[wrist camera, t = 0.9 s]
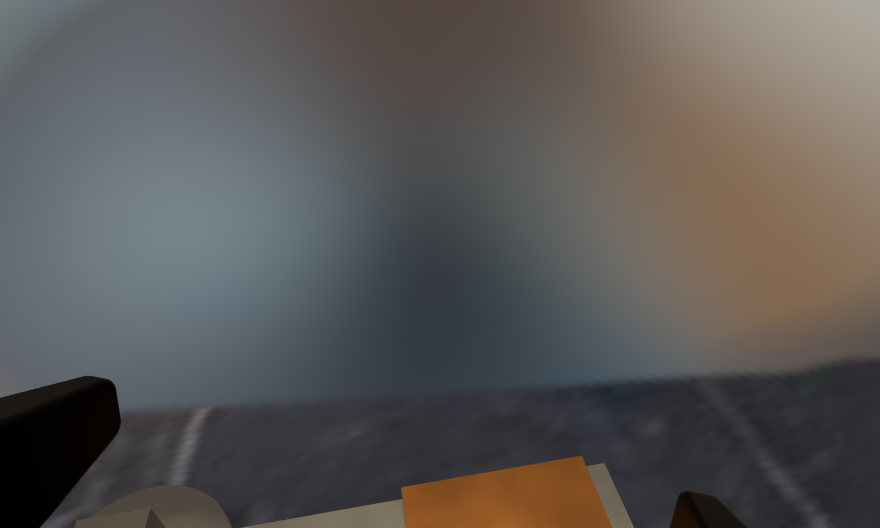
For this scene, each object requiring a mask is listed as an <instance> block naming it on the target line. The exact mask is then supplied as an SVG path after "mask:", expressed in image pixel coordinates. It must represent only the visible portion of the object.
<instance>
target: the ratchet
mask: <svg viewBox="0 0 880 528" xmlns="http://www.w3.org/2000/svg"><path fill="white" fill-rule="evenodd" d="M401 490H402V499H400V500H395V501H389V502H383V503H378V504H372V505H367V506H361V507H355V508H350V509H344V510H339V511H333V512H327V513H322V514H316V515H310V516H305V517H299V518H294V519H288V520H282V521H277V522H271V523H265V524H260V525H254V526H249V527H243V528H634V527H633V525H632V522H631V520H630V518H629V516H628V514H627V512H626V509H625V507H624V505H623V503H622V501H621V499H620V496H619V494H618V492H617V490H616V488H615V485H614V483H613V481H612V479H611V477H610V475H609V472H608V470H607V468H606V466H605V464H604V463H603V464H597V465H591V466H586V465H585V462H584V460H583V458H582V456H579V457H573V458H567V459H562V460H556V461H550V462H544V463H539V464H533V465H527V466H521V467H516V468H510V469H504V470H499V471H493V472H487V473H481V474H476V475H470V476H464V477H459V478H453V479H447V480H441V481H436V482H430V483H424V484H419V485H413V486H407V487H401ZM74 528H234V527H233V526H232V524H231V522H230V521H229V519H228V517H227V516H226V514H225V512H224V511H223V509H222V508H221V506H220V505H219V504H218V503H217V502H216V501H215V500H214V499H213V498H211V497H210V496H209V495H207V494H206V493H204V492H202V491H200V490H197V489H194V488H191V487H186V486H179V485H166V486H157V487H152V488H148V489H144V490H141V491H138V492H135V493H132V494H130V495H127V496H125V497H123V498H120V499H119V500H117V501H115V502H113V503H111V504H109V505H108V506H106V507H104V508H103V509H101V510H100V511H98V512H97V513H95V514H94V515H93V516H91V517H90V518H88V519H82V520H77V522H76V524H75V527H74Z"/></svg>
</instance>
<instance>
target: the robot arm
mask: <svg viewBox="0 0 880 528" xmlns="http://www.w3.org/2000/svg"><path fill="white" fill-rule="evenodd" d="M120 424H121V418H120V411H119V405H118V399H117V392H116V387H115V385H114V383H113V382H112V381H110V380H109V379H105V378H99V377H94V376H83V377H79V378H75V379H72V380H68V381H64V382H60V383H56V384H52V385H48V386H45V387H40V388H37V389H33V390H29V391H25V392H21V393H17V394H14V395H9V396H6V397H2V398H0V528H40V527H41V526H42V525H43V524H44V523H45V522H46V520H47V519H48V518H49V517H50V516H51V515H52V514H53V512H54V511H55V510H56V509H57V508H58V507H59V505H60V504H61V503H62V502H63V500H64V499H65V498H66V497H67V496H68V494H69V493H70V492H71V491H72V489H73V488H74V487H75V486H76V485H77V483H78V482H79V481H80V480H81V478H82V477H83V476H84V475H85V474H86V472H87V471H88V470H89V469H90V467H91V466H92V465H93V464H94V463H95V461H96V460H97V459H98V458H99V456H100V455H101V454H102V453H103V452H104V450H105V449H106V448H107V447H108V445H109V444H110V443H111V442H112V441H113V439H114V438H115V437H116V435H117V433H118V431H119V429H120ZM670 528H747V527H746V526H745V525H744V524H743V523H742V522H741V521H740V520H739V519H738V518H737V517H736V516H735V515H734V514H733V513H732V512H731V511H730V510H729V509H728V508H727V507H725V506H724V505H723V504H722V503H721V502H720V501H719V500H718V499H717V498H715V497H714V496H711V495H707V494H702V493H697V492H691V491H684V492H682V493H681V494H680V495H679V497H678V499H677V503H676V507H675V510H674V514H673V517H672V521H671V525H670Z"/></svg>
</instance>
